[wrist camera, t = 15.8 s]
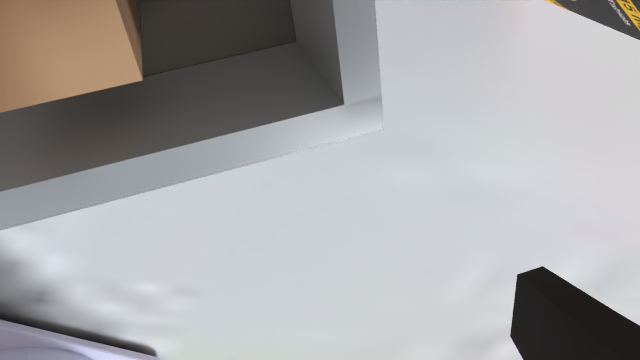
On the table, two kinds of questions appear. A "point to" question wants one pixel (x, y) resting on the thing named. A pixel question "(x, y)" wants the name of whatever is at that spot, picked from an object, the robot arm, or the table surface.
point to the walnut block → (66, 49)
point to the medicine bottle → (608, 13)
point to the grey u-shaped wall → (196, 118)
